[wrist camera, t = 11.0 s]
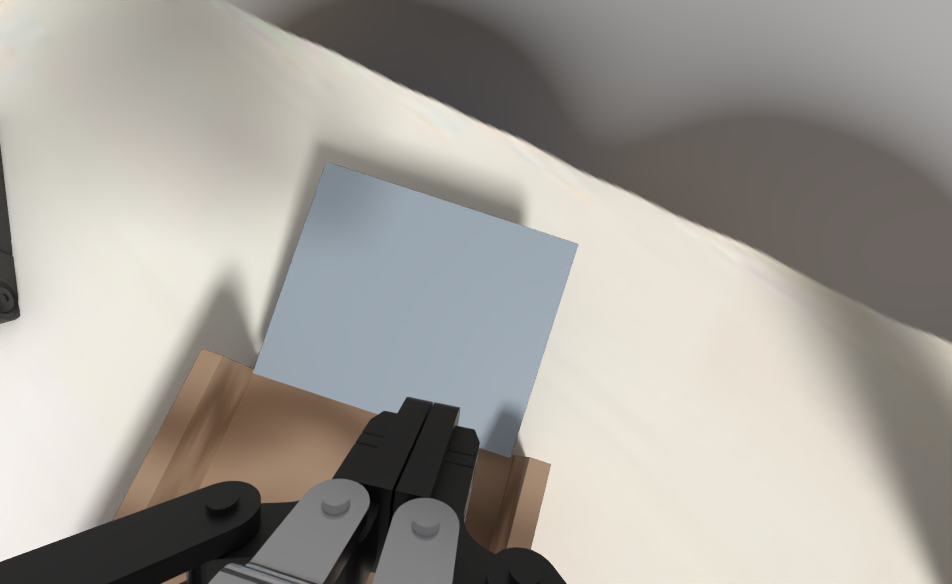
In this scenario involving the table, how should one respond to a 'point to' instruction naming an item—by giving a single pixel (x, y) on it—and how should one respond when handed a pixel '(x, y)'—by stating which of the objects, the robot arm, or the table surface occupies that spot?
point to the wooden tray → (301, 452)
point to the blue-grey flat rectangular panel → (416, 305)
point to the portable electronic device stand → (6, 261)
